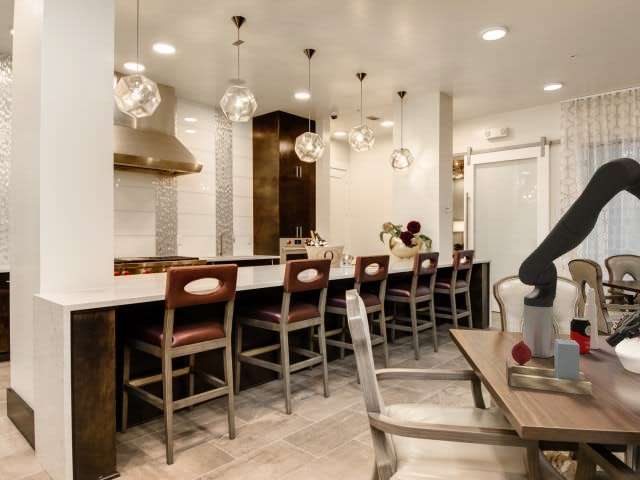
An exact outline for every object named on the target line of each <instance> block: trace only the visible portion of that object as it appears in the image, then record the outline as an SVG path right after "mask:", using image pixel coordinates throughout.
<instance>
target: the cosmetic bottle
mask: <svg viewBox="0 0 640 480" xmlns="http://www.w3.org/2000/svg"><path fill="white" fill-rule="evenodd" d="M585 302H586V303H585V304H584V313H583V314H584V316H583V318H588V319H589V322H590V324H591V339H590V350H599V349H600V348H601V347H600V343H599V334H598V313H597V312H598V311H597V310H598V309H597V304H596V291H595V288H589V287H588V288H587V291H586V301H585Z"/></svg>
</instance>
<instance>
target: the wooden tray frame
mask: <svg viewBox="0 0 640 480" xmlns="http://www.w3.org/2000/svg"><path fill="white" fill-rule="evenodd" d="M505 377H506V379H505V380H506V385H507V386H509V387H519V388H525V389H526V388H527V389H534V390H542V391H543V390H544V391H549V392H550V391H551V392H558V393H559V392H560V393H568V394H576V395H583V396H584V395H585V396H592V393H593V391H592V389H593V388H592V387H593V386H592V385H593V384H592V382H591V381H585V373H584V371H579V381H576V380H567V379H558V378H554V368H544V367H536V366H525V365H524V366H523V365H515V364H512V362H511V358H510V357H505Z"/></svg>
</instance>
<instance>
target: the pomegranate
mask: <svg viewBox="0 0 640 480" xmlns="http://www.w3.org/2000/svg"><path fill="white" fill-rule="evenodd" d="M510 353H511V357H512V359H513V360H514V361H515V362H516V363H517V364H519V366H523V365H524V366H525V364H526V363H528V362H529V361H530V360H531V359H532V357H533V356H532V353H531V350H530V348H529V347H528V346H527V345H526V344H524V340H523V339H520V340H519V342H517V343H516V344H515V345H513V347H512V348H511V352H510Z"/></svg>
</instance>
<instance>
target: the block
mask: <svg viewBox="0 0 640 480" xmlns="http://www.w3.org/2000/svg"><path fill="white" fill-rule="evenodd" d="M579 348H580V345H579V344H578V343H577V342H576V341H575V340H570V339H561V338H554V366H553V367H554V368H553V369H554V378H558V379H567V380H576V381H579V372H580V353H579Z"/></svg>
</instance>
